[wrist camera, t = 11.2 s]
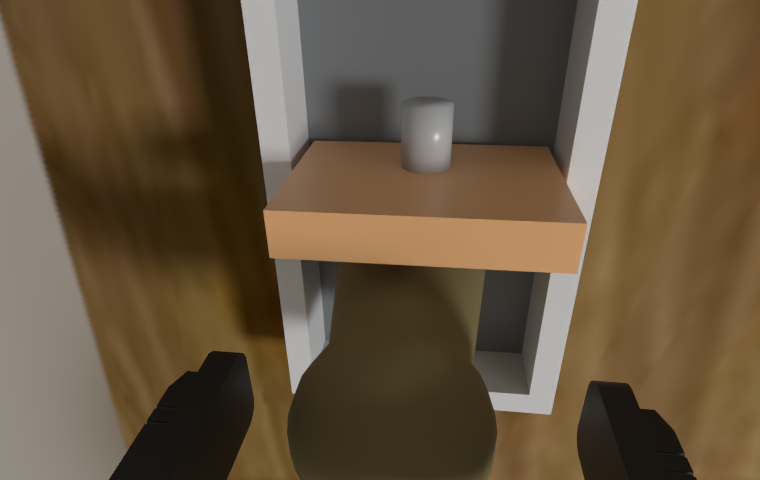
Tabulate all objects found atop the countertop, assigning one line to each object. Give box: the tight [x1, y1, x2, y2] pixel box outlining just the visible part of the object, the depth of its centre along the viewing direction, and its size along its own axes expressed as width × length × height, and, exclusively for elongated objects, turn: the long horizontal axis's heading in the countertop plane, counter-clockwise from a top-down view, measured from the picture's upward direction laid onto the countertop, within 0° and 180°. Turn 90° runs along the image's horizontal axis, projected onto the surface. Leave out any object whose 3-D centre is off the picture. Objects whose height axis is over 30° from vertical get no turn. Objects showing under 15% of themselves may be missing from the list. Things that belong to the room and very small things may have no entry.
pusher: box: [263, 97, 587, 274], centre depth 16 cm, size 4×8×6 cm, turn 91°
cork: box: [287, 262, 497, 480], centre depth 16 cm, size 6×6×11 cm
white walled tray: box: [241, 0, 638, 415], centre depth 18 cm, size 18×12×5 cm, turn 1°
